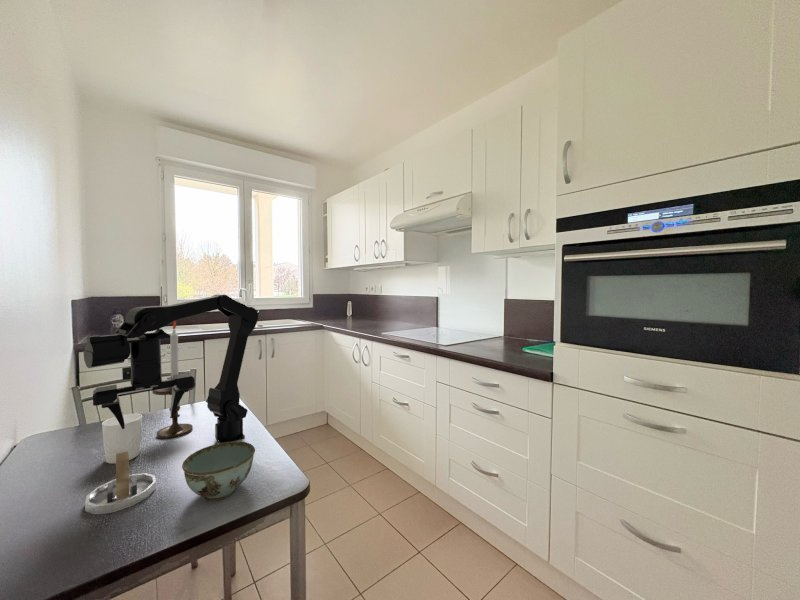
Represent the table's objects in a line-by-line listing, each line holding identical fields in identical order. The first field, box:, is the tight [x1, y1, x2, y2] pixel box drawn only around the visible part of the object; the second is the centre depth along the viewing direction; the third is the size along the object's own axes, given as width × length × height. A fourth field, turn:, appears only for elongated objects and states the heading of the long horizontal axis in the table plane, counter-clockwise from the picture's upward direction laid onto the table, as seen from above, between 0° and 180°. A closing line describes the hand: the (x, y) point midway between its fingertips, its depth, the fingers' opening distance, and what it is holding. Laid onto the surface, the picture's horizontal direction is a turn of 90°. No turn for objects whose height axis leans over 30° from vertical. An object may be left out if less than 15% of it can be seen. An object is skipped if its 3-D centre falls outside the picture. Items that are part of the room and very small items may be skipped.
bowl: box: [181, 440, 256, 502], centre depth 68 cm, size 14×13×8 cm
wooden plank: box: [115, 451, 130, 500], centre depth 66 cm, size 2×4×8 cm, turn 42°
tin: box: [84, 472, 157, 515], centre depth 66 cm, size 11×11×2 cm
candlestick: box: [152, 320, 197, 440], centre depth 97 cm, size 11×11×35 cm
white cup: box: [101, 413, 143, 464], centre depth 82 cm, size 8×8×10 cm
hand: (148, 422), depth 76 cm, fingers open, 9 cm apart
